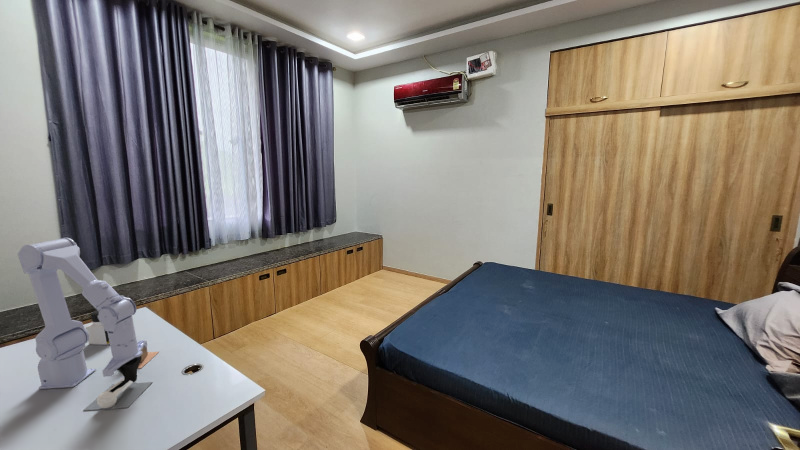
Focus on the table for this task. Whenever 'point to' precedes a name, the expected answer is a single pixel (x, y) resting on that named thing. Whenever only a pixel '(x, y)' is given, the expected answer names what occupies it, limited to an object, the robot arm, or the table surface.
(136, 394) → the tile slate
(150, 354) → the tile terracotta
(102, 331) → the medicine bottle
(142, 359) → the walnut block
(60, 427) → the table surface
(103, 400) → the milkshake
